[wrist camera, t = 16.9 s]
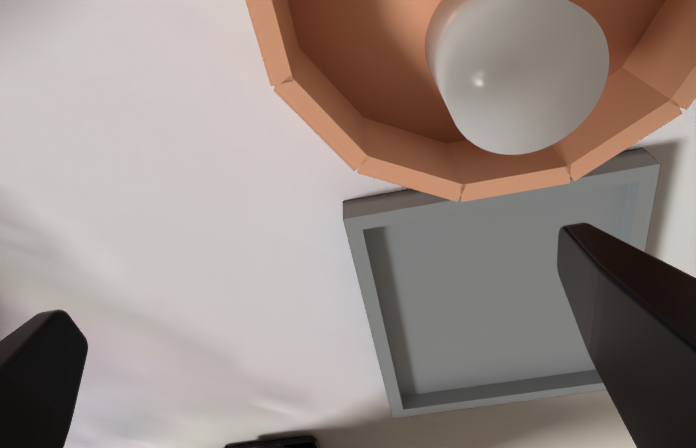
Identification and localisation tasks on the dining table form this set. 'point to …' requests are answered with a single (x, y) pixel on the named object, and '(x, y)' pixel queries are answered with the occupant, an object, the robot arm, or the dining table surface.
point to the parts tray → (486, 286)
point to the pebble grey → (516, 69)
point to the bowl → (428, 104)
